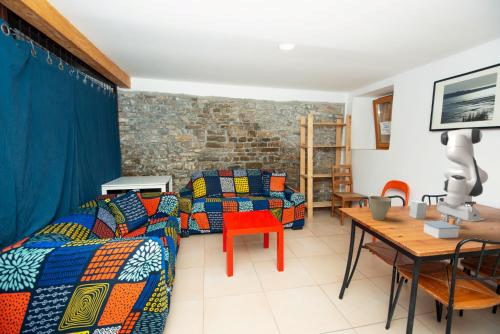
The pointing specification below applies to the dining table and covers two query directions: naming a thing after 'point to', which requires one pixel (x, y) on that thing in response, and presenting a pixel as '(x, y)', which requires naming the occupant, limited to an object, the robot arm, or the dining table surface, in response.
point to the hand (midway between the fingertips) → (452, 222)
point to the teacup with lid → (449, 217)
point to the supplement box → (418, 209)
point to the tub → (441, 232)
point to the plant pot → (379, 206)
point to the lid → (443, 224)
